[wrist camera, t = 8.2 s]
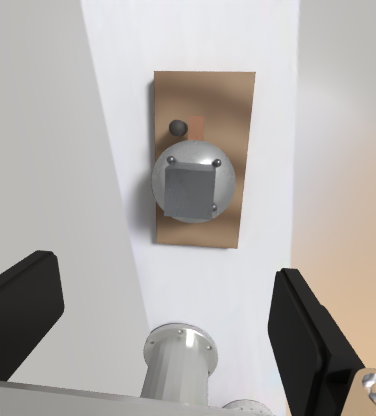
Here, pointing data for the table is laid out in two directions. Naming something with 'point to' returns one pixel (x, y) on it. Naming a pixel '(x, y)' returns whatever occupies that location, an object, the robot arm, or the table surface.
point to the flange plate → (196, 156)
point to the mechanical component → (249, 407)
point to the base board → (213, 133)
